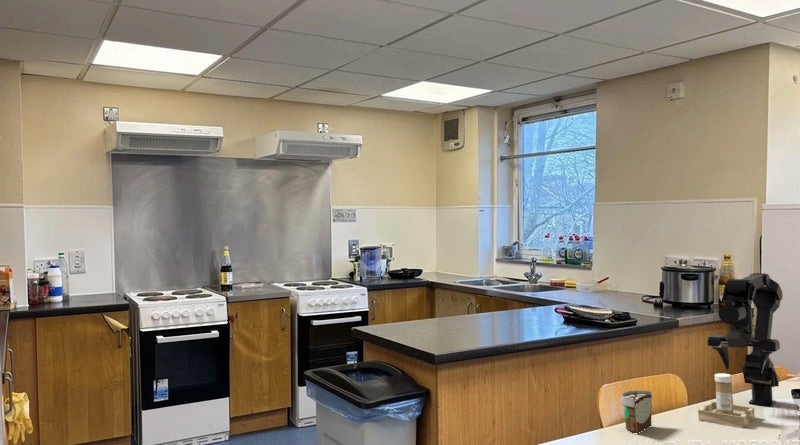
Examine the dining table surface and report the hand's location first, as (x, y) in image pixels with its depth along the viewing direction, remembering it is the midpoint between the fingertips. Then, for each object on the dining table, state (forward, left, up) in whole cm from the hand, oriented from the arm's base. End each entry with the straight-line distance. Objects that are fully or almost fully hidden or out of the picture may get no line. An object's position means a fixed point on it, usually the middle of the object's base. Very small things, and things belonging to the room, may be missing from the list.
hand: (744, 371), depth 186 cm
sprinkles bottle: (+10, -3, -13) cm, 17 cm away
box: (+9, -3, -13) cm, 16 cm away
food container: (+33, -21, -13) cm, 41 cm away
